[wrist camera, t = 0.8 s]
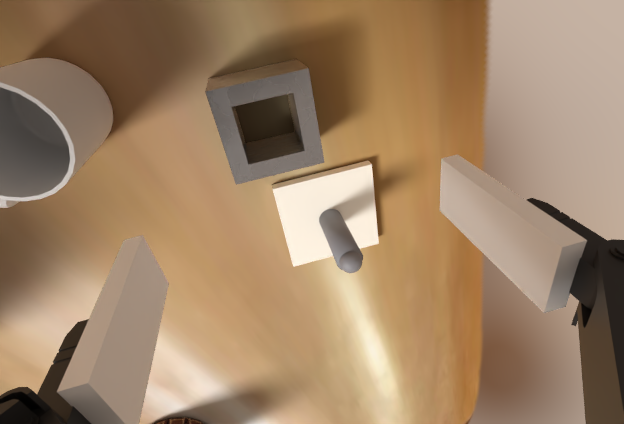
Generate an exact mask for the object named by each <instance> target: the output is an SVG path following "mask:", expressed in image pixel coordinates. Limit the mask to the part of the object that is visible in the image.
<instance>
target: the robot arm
mask: <svg viewBox="0 0 624 424" xmlns="http://www.w3.org/2000/svg"><path fill="white" fill-rule="evenodd" d="M440 211H441V212H442V213H443V214H444V215H445V216H446V217H447V218H448V219H449V220H450V221H451V222H452V223H453V224H454V225H455V226H456V227H457V228H458V229H459V230H460V231H461V232H462V233H463V234H464V235H465V236H466V237H467V238H468V239H469V240H470V241H471V242H472V243H473V244H474V245H475V246H476V247H477V248H478V249H479V250H480V251H481V252H482V253H483V254H485V255H486V256H487V257H488V258H489V259H490V260H491V261H492V262H493V263H494V264H495V265H496V266H497V267H498V268H499V269H500V270H501V271H502V272H503V273H504V274H505V275H506V276H507V277H508V278H509V279H510V280H511V281H512V282H513V283H514V284H515V285H516V286H517V287H518V288H519V289H520V290H521V291H522V292H523V293H524V294H525V295H526V296H527V297H528V298H529V299H530V300H532V302H533V303H534V304H535V305H536V306H537V307H539V309H540V310H542V311H543V312H544V313H546V312H549V311H553V310H556V309H559V308H563V307H566V304H567V301H568V298H569V294H570V293H571V294H572V295H573V296H574V297H575V298H577V299H578V300H579V304H578V307H577V310H576V313H575V316H574V318H573V322H572V325H574V326H576V324H577V321H578V327H579V340H580V353H581V365H582V380H583V393H584V404H585V405H584V406H585V419H586V424H624V240H608V241H607V240H606V239H604V238H602V237H601V236H599V235H598V234H596V233H594V232H593V231H591V230H590V229H588V228H586V227H585V226H583V225H581V224H580V223H578V222H577V221H575V220H573V219H570V217H569V216H567V215H566V214H564V213H563V212H561V213H560V211H559V210H558V209H556V208H554V207H553V206H551V205H550V204H548V203H545V202H543V201H540V200H536V199H533V198H530V199H527V200H525V199H524V198H522V197H521V196H519V195H518V194H516V193H515V192H513V191H512V190H510V189H509V188H507V187H506V186H504V185H503V184H501V183H500V182H498V181H497V180H495V179H494V178H492V177H491V176H489V175H488V174H486V173H485V172H483V171H482V170H480V169H479V168H477V167H476V166H474V165H473V164H471V163H469V162H468V161H466V160H465V159H463V158H462V157H460V156H459V155H454V156H450V157H446V158H442V159H441V186H440ZM168 285H169V283H168V281H167V279H166V277H165V275H164V273H163V271H162V270H161V268H160V266H159V264H158V262H157V260H156V259H155V257H154V255H153V253H152V251H151V249H150V248H149V246H148V244H147V242H146V240H145V238H144V237H143V235H141V236H137V237H133V238H129V239H125V240H124V241H123V243H122V245H121V248H120V250H119V252H118V254H117V257H116V259H115V261H114V263H113V266H112V268H111V270H110V272H109V275H108V277H107V279H106V282H105V284H104V286H103V288H102V291H101V293H100V295H99V297H98V300H97V302H96V304H95V306H94V309H93V311H92V313H91V315H90V318H89V319H88V320H84V321H81V322H78V323H77V324H76V325H75V326H74V327H73V328H72V330H71V331H70V332H69V333H68V334H67V335H66V337H65V339H64V341H63V343H62V345H61V347H60V349H59V353H57V355H56V357H55V359H54V361H53V363H54V364H53V365H51V367H50V369H49V371H48V373H47V375H46V377H45V380H44V382H43V384H42V386H41V388H40V390H39V392H38V394H36V393H35V392H33V391H32V390H31V389H29V388H28V387H18V388H15V389H12V390H10V391H7V392H6V393H4V394H2V395H1V396H0V424H139V421H140V417H141V412H142V407H143V403H144V398H145V393H146V389H147V384H148V379H149V374H150V370H151V365H152V360H153V356H154V351H155V346H156V341H157V337H158V332H159V327H160V323H161V318H162V313H163V309H164V304H165V299H166V294H167V290H168Z"/></svg>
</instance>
